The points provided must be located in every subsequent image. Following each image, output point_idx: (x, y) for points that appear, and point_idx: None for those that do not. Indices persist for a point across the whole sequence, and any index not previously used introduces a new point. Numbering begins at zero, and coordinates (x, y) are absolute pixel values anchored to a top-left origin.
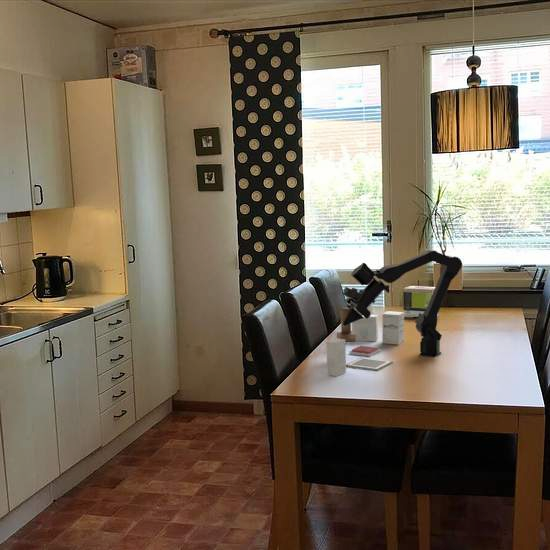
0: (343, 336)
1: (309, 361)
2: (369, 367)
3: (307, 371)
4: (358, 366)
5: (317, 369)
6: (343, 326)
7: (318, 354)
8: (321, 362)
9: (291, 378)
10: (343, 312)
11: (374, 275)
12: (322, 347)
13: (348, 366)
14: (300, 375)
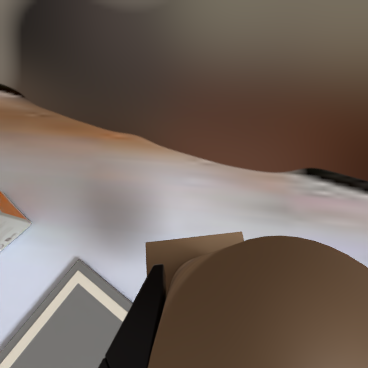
0: (147, 265)
1: (169, 156)
2: (4, 364)
3: (59, 143)
4: (42, 313)
5: (72, 170)
6: (176, 272)
7: (254, 187)
8: (151, 188)
9: (6, 105)
10: (174, 290)
11: None
12: (353, 208)
13: (69, 272)
14: (25, 125)
